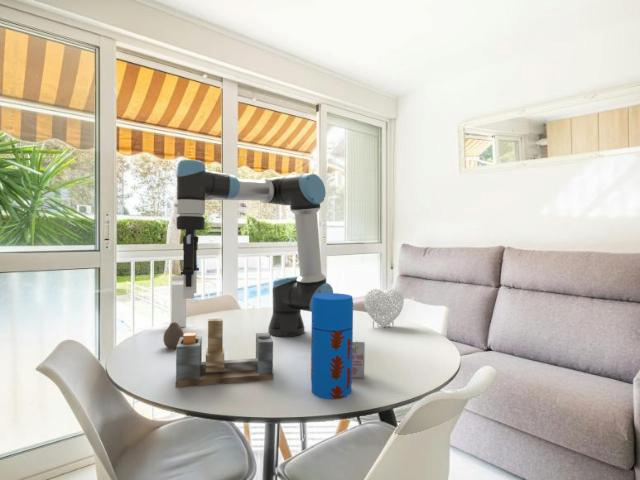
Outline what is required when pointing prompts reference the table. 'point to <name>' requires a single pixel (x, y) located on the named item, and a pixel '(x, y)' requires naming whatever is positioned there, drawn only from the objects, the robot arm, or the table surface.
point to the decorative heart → (383, 306)
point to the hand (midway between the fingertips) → (190, 295)
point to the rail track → (225, 378)
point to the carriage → (215, 346)
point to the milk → (178, 302)
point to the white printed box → (358, 360)
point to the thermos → (331, 345)
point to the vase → (172, 335)
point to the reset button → (189, 338)
